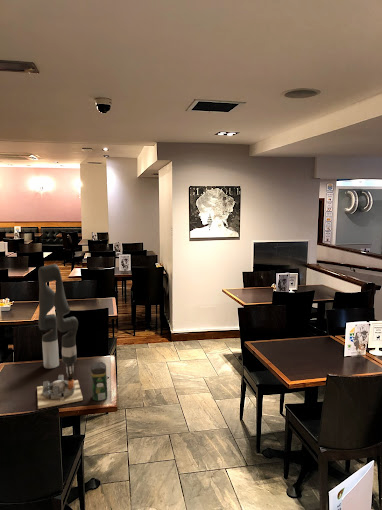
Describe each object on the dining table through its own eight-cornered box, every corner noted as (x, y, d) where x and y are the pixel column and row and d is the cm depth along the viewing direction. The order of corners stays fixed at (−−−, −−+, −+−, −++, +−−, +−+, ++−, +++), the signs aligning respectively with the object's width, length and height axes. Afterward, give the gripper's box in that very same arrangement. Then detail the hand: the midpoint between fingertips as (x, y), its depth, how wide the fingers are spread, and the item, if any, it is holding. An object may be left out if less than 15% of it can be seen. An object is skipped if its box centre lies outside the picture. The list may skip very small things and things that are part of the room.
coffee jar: (92, 393, 219) (90, 361, 216) (107, 391, 221) (105, 359, 218) (92, 402, 210) (90, 368, 207) (107, 400, 212) (106, 367, 209)
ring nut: (46, 385, 225) (46, 375, 224) (76, 383, 227) (75, 373, 226) (40, 400, 209) (39, 389, 208) (72, 397, 211) (71, 387, 210)
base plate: (37, 389, 224) (36, 377, 223) (78, 382, 232) (77, 370, 231) (38, 408, 204) (37, 395, 203) (82, 400, 212) (82, 387, 211)
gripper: (61, 349, 222) (62, 378, 226) (62, 359, 210) (64, 389, 213) (75, 347, 225) (76, 376, 228) (77, 357, 213) (78, 387, 216)
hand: (70, 382), depth 221 cm, fingers closed
